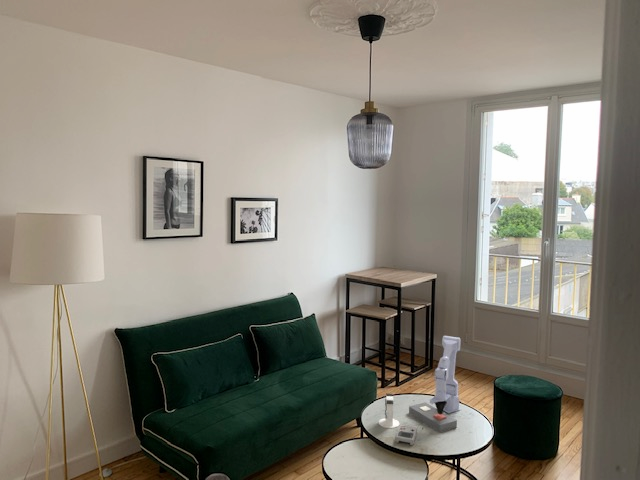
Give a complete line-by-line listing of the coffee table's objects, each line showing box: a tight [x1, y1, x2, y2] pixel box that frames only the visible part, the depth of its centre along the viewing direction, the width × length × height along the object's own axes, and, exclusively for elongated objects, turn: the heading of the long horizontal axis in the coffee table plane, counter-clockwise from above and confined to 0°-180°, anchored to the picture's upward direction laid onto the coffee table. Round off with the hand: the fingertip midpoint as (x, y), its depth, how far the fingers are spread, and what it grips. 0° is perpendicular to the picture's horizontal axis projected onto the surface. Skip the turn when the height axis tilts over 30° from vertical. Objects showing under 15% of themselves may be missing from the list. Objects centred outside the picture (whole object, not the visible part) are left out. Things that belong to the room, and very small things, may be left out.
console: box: [408, 402, 458, 433], centre depth 274 cm, size 26×12×4 cm, turn 29°
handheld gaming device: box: [395, 425, 418, 446], centre depth 253 cm, size 9×15×4 cm, turn 161°
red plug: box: [433, 414, 446, 420], centre depth 269 cm, size 5×5×4 cm
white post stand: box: [378, 393, 400, 429], centre depth 269 cm, size 12×11×15 cm
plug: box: [419, 406, 431, 412], centre depth 279 cm, size 5×5×4 cm
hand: (439, 413), depth 268 cm, fingers closed
